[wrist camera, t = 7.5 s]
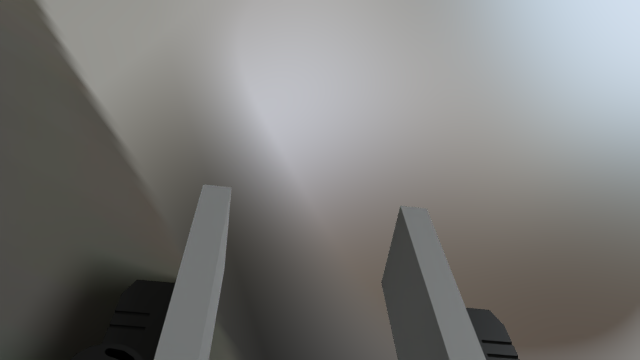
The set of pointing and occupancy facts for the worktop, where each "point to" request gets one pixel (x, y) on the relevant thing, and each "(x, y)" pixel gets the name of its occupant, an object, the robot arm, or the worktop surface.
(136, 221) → the worktop surface
